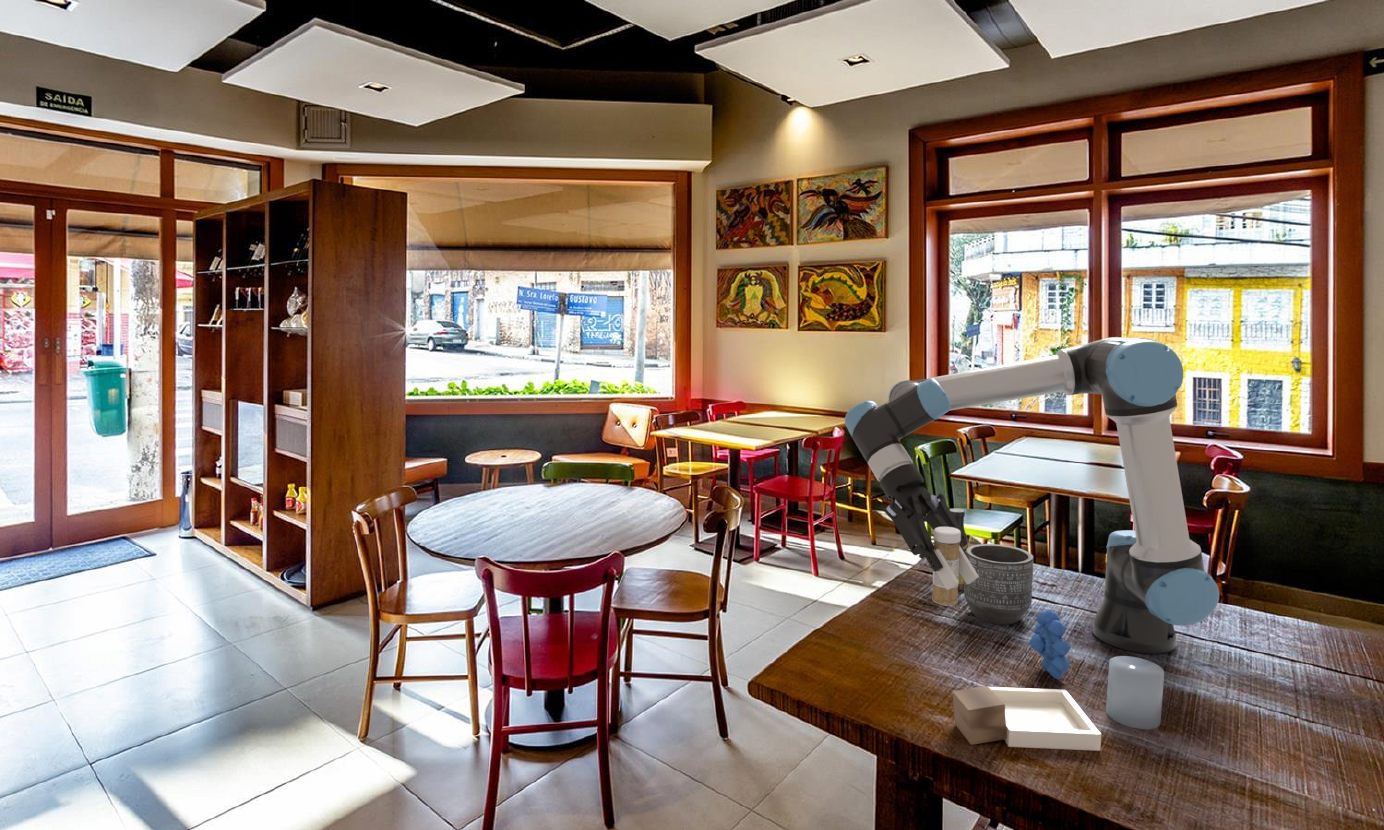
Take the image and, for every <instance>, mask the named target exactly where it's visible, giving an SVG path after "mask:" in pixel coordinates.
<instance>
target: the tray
mask: <svg viewBox="0 0 1384 830" xmlns="http://www.w3.org/2000/svg"><path fill="white" fill-rule="evenodd" d="M988 687H989V688H990V689H991V690H992V691H993V693H994V694H995V695H996V696H997V697H998V698H999V699H1000V700H1001V701H1002V702H1003V703H1004V704H1005V715H1006V730H1007V739H1003V740H1004V741H1005V743H1006V744H1007V747H1009V748H1028V749H1029V748H1031V749H1052V750H1053V749H1055V750H1072V751H1073V750H1075V751H1097V752H1100V751H1101V745H1102V744H1101V743H1102V733H1101V732H1100V731H1099V729H1098V728H1097V726H1096V725H1094V723H1093V722H1092V721H1091V719H1090V718H1089V717H1088V716H1087V715H1086V713H1085V712H1084V710H1082V708H1081V707H1080V705H1078V703H1077V702H1076V701H1075V699H1074V698H1073V697H1072V695H1070V693H1069V692H1068V691H1067V689H1056V688H1055V689H1054V688H1029V687H1027V688H1025V687H1006V686H1005V687H1003V686H1002V687H1001V686H988Z"/></svg>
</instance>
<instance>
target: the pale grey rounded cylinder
mask: <svg viewBox="0 0 1384 830" xmlns="http://www.w3.org/2000/svg"><path fill="white" fill-rule="evenodd" d="M1108 663H1109V664H1108V677H1107V678H1108V679H1107V680H1108V681H1107V690H1106V691H1107V692H1106V706H1105V712H1106V714H1107V716H1108V717H1109V718H1110V719H1111V720H1113V721H1115V722H1116V723H1119V724H1120V725H1123V726H1126V727H1129V728H1133V729H1137V730H1154V729H1157V728H1158V727H1160V726H1161V717H1162V708H1163V707H1162V706H1163V694H1164V692H1163V691H1164V681H1165V680H1164V679H1165V671H1164V669H1163V668H1162V667H1161V666H1160V665H1158V664H1157V663H1155V662H1152V661H1150V660H1148V659H1144V658H1141V657H1136V656H1128V655H1117V656H1114V657H1112V658H1110V659H1109V662H1108Z"/></svg>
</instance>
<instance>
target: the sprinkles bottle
mask: <svg viewBox="0 0 1384 830" xmlns="http://www.w3.org/2000/svg"><path fill="white" fill-rule="evenodd" d="M960 541H961V532H960V530H959V529H956V528H953V527H937V528H935V529H934V530H933V542H934V543H933V546H934V551H935V550H937V549H939V550H940V551H941V553H942V555H943V556H944V558H945V560H946V561H947V563H948V565H949V566H950V568H951V570H952V571H953V573H954V575H955V576H956V578H957V579H958V581H959V544H960ZM958 591H959V590H958V583H957V584H956V585H955V586H953V587H952V588H951V589H949V590H947V589H946V588H945V586H944V584H943V583H942V581H941V579H940V578H939V576H938V574H937V573H936V572H935V571H934V570H933V569H932V596H931V600H932V601H933V603H935V604H938V605H941V606H947V607H951V606H955V605H957V604H958V603H959V599H958V596H959V595H958V594H959V593H958Z"/></svg>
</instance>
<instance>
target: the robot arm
mask: <svg viewBox="0 0 1384 830" xmlns="http://www.w3.org/2000/svg"><path fill="white" fill-rule="evenodd" d="M1183 380H1184V367H1183V363H1182V361H1181V359H1180V357H1179V356H1178V355H1177V353H1176V352H1175V350H1173V349H1172V348H1171V347H1169V346H1168V345H1166V344H1164V343H1162V342H1159V341H1157V340H1154V339H1151V338H1144V337H1137V338H1135V337H1122V336H1121V337H1118V336H1114V337H1113V336H1112V337H1108V338H1107V337H1106V338H1104V339H1103V338H1102V339H1099V340H1095V341H1091V342H1089V343H1084V344H1080V345H1076V346H1071V347H1067V348H1062V349H1058V350H1057V352H1056V353H1055V354H1054V355H1049V356H1045V357H1039V358H1034V359H1033V358H1032V359H1028V360H1024V361H1023V360H1022V361H1018V362H1011V363H1006V364H1001V365H995V366H994V365H993V366H989V367H983V368H978V369H972V370H967V371H961V372H957V373H950V374H945V375H940V376H934V377H930V378H924V379H923V378H922V379H917V380H909V379H907V380H902V381H899V382H896V384H894V385H893V386H892V387H891V389H890V391H889V393H888V402H886V403H884V404H882V405H879V404H877V403H876V402H875V401H872V400H865V401H863V402H859V403H858V404H855V405H854V406H852V407H851V408H850V409H849V410H848V411H847V412H846V413H845V414H846V415H845V417H844V425H845V427H846V428H847V431H848V432H849V434H850V436H851V438H852V440H853V442H854V443H855V445H856V447H857V448H858V450H859V452H860V453H861V455H862V457H863V458H864V460H865V461H866V464H867V465H868V466H869V468H870V470H871V472H872V474H873V476H874V477H875V479H876V481H878V482H880V483H879V486H880V488H881V490H882V491H883V492H884V494H885V496H886V497H887V499H888V500H890V501H891V503H889V504H888V506H887V507H886V508H885V509H884V513H885V514H886V515H887V516H888V518H890V519H891V520H892V522H893V524H894V525H895V527H896V529H897V530H898V532H899V533H900V535H901V537H902V539H903V540H904V543H905V544H906V545H907V546H908V548H909V550H910V553H911V554H912V555H913V556H917V555H918V557H919V558H920V559H921V560H924V559H926V561H927V563H928V564H929V566H930V568H931V570H932V571H933V570H934V571H935V572H936V573H937V574H938V576H939V578H940V579H941V581H942V583H943V584H944V586H945V588H946V589H947V590H949V589H951V588H952V587H953V586H955V585H956V584H957V583H958V582H959V581H958V579H957V578H956V576H955V575H954V573H953V571H952V570H951V568H950V566H949V565H948V563H947V561H946V560H945V558H944V556H943V555H942V553H941V551H940V550H939V549H937V550H935V551H934V543H933V541H932V539H931V536H930V534H929V532H928V529H927V526H926V523H927V524H928V525H929V527H931V529H932V530H933V531H934V529H935V528H937V527H953V528H956V529H959V530H960V532H961V541H960V544H959V573H960V574H961V576H962V577H963V579H964V581H965V582H966V584H970V583H971V582H973V581H974V580H975V579H977V578H978V577H979V576H978V574H977V573H976V571H975V569H974V568H973V566H972V565H971V563H970V559H969V557H968V555H967V554H966V552H965V550H964V549H963V547H962V545H961V543H962V542H963V541H964V540H965V539H966V536H967V534H966V535H965V534H964V532H963V531H962V529H961V527H960V526H959V524H958V522H957V521H956V519H955V518H954V516H953V514H952V513H951V511H950V509H951V508H950V507H949V506H948V504H947V501H946V498H945V495H944V494H942V493H938V495H934V494H931V492H930V491H929V490H927V489H926V488H925V486H924V477H923V475H922V474H921V473H920V470H918V468H917V466H916V465H915V464H914V462H913V459H912V458H911V456H910V455H909V453H908V451H907V450H906V449H905V446H903V443H902V442H901V441H900V440H901V439H903V438H905V437H906V436H908V435H910V434H912V433H913V432H915V431H918V430H919V429H921V428H922V427H925V426H927V425H928V424H930V423H932V422H934V421H935V420H936V421H937V420H939V419H940V418H941V417H942V416H944V415H946V413H948V412H949V411H954V410H960V409H967V408H972V407H979V406H984V405H990V404H996V403H997V404H998V403H1001V402H1009V401H1014V400H1020V399H1026V398H1031V397H1038V396H1044V395H1050V394H1056V393H1063V394H1064V395H1066V396H1074V395H1080V394H1082V395H1083V394H1084V395H1085V394H1095V395H1101V396H1102V402H1103V408H1104V412H1105V413H1104V414H1105V417H1108V418H1109V419H1111V420H1112V421H1113V422H1115V425H1116V428H1117V429H1116V430H1117V436H1118V441H1119V447H1120V453H1121V459H1122V464H1123V465H1122V466H1123V470H1124V477H1125V481H1126V482H1125V483H1126V487H1127V489H1126V490H1127V494H1128V498H1129V499H1128V500H1129V504H1130V511H1131V517H1132V522H1133V528H1134V530H1133V529H1132V530H1131V529H1129V530H1128V529H1127V530H1123V529H1122V530H1115V531H1113V532H1110V534H1109V535H1108V538H1107V539H1108V540H1107V545H1106V546H1105V547H1106V558H1105V559H1106V561H1105V575H1104V576H1105V577H1104V579H1105V581H1104V595H1103V600H1102V602H1101V604H1100V605H1099V608H1098V610H1097V612H1096V614H1095V616H1094V618H1093V621H1092V633H1093V635H1094V636H1095V637H1096V638H1097V639H1099V640H1100V641H1102V642H1104V643H1105V644H1108V645H1109V646H1113V647H1115V648H1118V649H1121V650H1124V651H1125V650H1126V651H1129V652H1135V653H1139V654H1166V653H1169V652H1172V651H1174V650H1175V649H1176V646H1177V644H1176V643H1177V642H1176V641H1177V634H1176V630H1175V628H1174V626H1181V627H1182V626H1186V627H1187V626H1191V625H1195V624H1199V623H1200V622H1202V621H1204V620H1205V619H1207V618H1208V616H1209V615H1210V614H1212V613H1214V611H1215V610H1216V608H1217V606H1218V604H1219V602H1220V601H1219V599H1220V589H1219V587H1218V585H1217V583H1216V581H1215V580H1214V579H1213V578H1214V577H1212V575H1210V574H1209V573H1208V572H1206V571H1205V570H1206V569H1205V566H1204V559H1203V554H1202V553H1203V552H1202V549H1201V546H1200V544H1197V543H1196V542H1195V541H1193V540H1192V539H1190V535H1189V534H1190V533H1189V530H1188V522H1187V517H1186V510H1185V505H1184V504H1185V503H1184V499H1183V498H1184V497H1183V493H1182V486H1181V480H1180V474H1179V469H1178V468H1179V467H1178V462H1177V456H1176V450H1175V449H1176V448H1175V444H1174V443H1175V442H1174V438H1173V432H1172V425H1171V420H1170V416H1171V415H1172V413H1174V412H1175V410H1176V409H1177V408H1178V400H1177V392H1178V391H1179V389H1180V388H1181V387H1182V385H1183V382H1184V381H1183Z"/></svg>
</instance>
